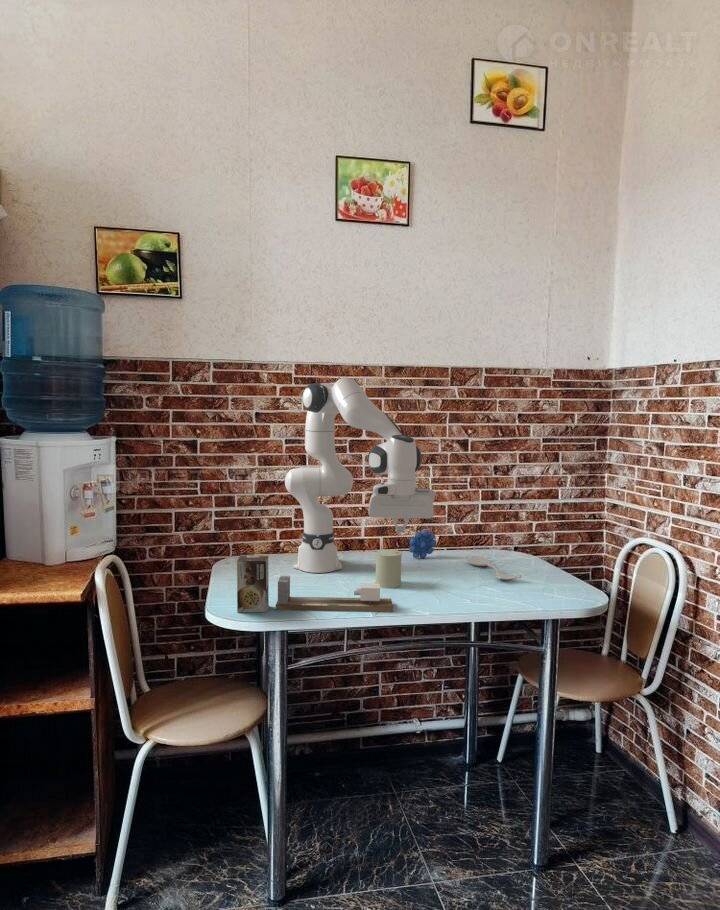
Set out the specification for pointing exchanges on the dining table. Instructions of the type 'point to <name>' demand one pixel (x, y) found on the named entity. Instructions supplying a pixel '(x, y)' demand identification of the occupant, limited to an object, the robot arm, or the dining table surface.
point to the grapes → (422, 544)
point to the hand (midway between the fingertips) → (400, 532)
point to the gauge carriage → (368, 592)
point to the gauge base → (326, 601)
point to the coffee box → (252, 584)
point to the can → (388, 568)
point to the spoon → (484, 562)
